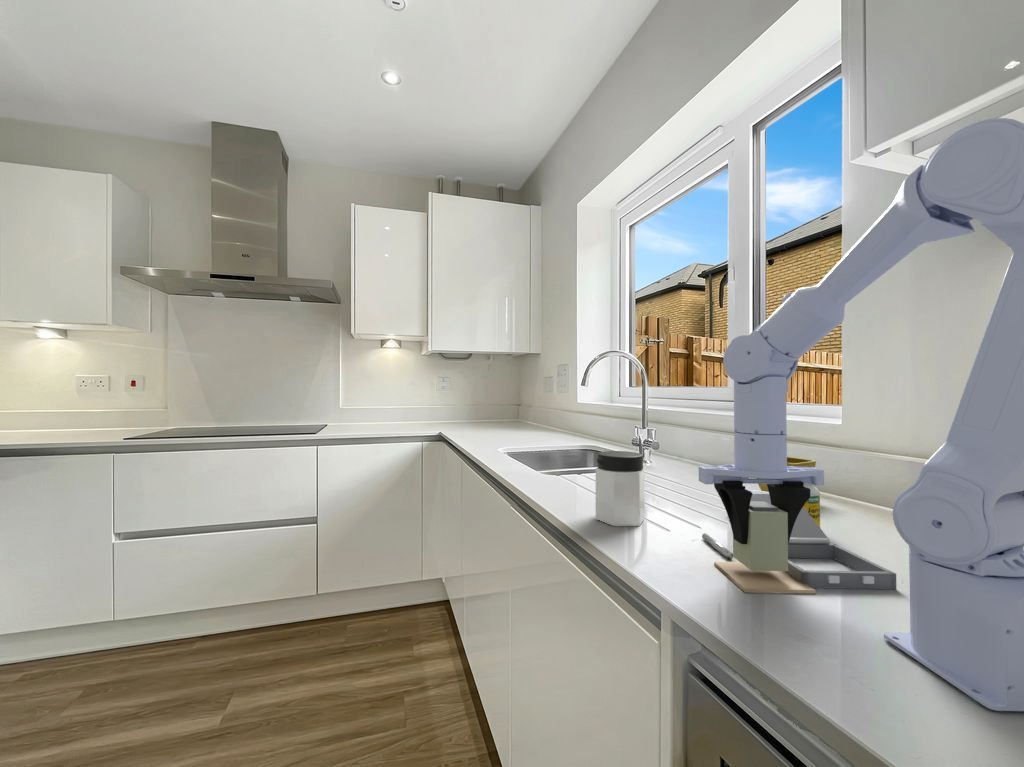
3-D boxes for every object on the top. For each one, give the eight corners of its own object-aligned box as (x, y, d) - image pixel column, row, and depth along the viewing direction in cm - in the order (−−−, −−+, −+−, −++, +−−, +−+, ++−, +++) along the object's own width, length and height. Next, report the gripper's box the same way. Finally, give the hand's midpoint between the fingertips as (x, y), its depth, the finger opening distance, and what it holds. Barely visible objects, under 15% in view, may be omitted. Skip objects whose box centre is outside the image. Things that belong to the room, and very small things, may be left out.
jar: (604, 511, 84) (604, 449, 84) (647, 516, 80) (647, 452, 80) (590, 523, 76) (590, 455, 76) (637, 530, 72) (637, 458, 72)
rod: (733, 559, 59) (733, 552, 59) (726, 559, 59) (726, 552, 59) (708, 539, 67) (708, 533, 67) (702, 539, 67) (701, 533, 67)
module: (788, 571, 51) (787, 509, 52) (751, 570, 52) (750, 508, 52) (767, 557, 56) (766, 500, 56) (733, 556, 56) (732, 499, 56)
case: (898, 590, 50) (898, 574, 50) (805, 588, 50) (804, 573, 51) (834, 556, 61) (834, 543, 61) (757, 555, 61) (757, 542, 61)
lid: (830, 557, 60) (829, 507, 60) (765, 556, 60) (764, 506, 61) (792, 537, 69) (792, 493, 69) (735, 536, 69) (735, 493, 69)
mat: (815, 593, 49) (815, 590, 49) (745, 592, 50) (745, 589, 50) (774, 565, 57) (774, 562, 57) (714, 564, 57) (714, 561, 57)
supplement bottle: (790, 524, 76) (790, 469, 76) (826, 532, 71) (825, 474, 71) (775, 529, 73) (775, 472, 73) (811, 538, 68) (811, 478, 68)
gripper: (797, 430, 58) (798, 532, 57) (689, 429, 58) (689, 530, 58) (836, 435, 51) (837, 551, 50) (712, 434, 51) (712, 549, 51)
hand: (760, 541), depth 54 cm, fingers closed on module, 4 cm apart
